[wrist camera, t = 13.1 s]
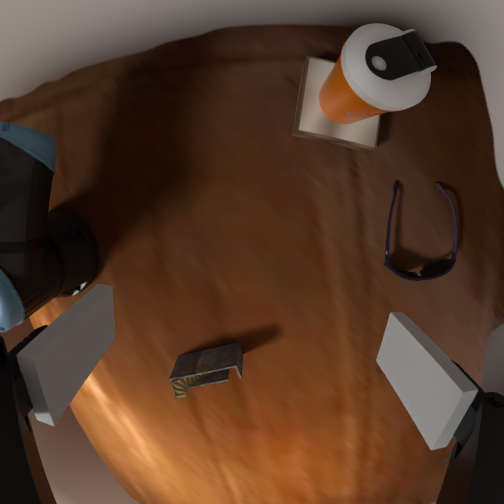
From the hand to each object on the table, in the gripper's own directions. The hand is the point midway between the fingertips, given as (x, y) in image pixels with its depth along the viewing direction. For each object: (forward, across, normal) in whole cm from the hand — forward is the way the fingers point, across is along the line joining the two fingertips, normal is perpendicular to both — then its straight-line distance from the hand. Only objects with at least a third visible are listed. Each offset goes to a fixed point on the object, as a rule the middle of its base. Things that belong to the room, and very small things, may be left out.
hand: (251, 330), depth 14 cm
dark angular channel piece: (+36, -4, -24) cm, 44 cm away
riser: (+35, +11, +19) cm, 42 cm away
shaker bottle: (+31, +11, +19) cm, 38 cm away
